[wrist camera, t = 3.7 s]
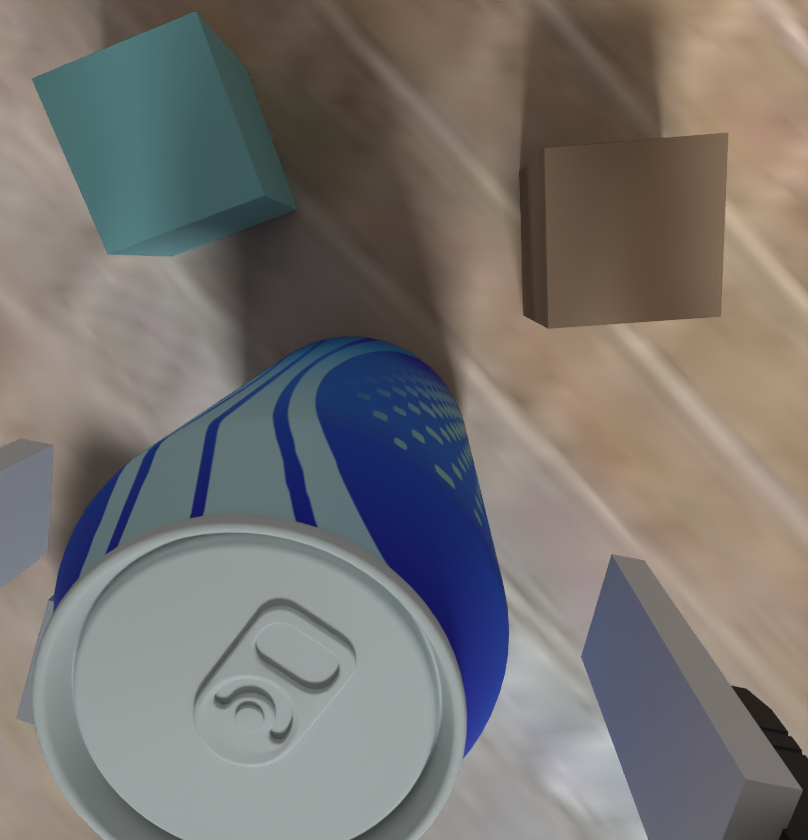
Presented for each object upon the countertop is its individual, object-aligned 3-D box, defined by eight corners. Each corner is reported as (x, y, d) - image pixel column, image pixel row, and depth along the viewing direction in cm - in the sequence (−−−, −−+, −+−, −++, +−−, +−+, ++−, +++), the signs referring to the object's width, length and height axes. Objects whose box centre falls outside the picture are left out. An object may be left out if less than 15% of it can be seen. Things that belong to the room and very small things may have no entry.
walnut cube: (523, 315, 24) (548, 328, 19) (519, 172, 23) (544, 147, 18) (660, 305, 24) (720, 316, 19) (663, 160, 23) (728, 132, 18)
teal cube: (172, 256, 24) (107, 254, 19) (115, 118, 23) (32, 78, 18) (297, 209, 23) (264, 195, 18) (245, 66, 22) (195, 10, 17)
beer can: (486, 515, 26) (578, 900, 10) (284, 560, 26) (85, 980, 11) (437, 308, 24) (458, 392, 8) (222, 362, 25) (-126, 530, 9)
